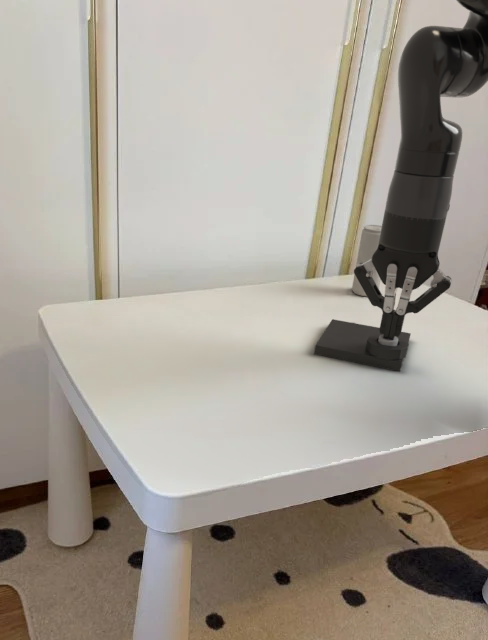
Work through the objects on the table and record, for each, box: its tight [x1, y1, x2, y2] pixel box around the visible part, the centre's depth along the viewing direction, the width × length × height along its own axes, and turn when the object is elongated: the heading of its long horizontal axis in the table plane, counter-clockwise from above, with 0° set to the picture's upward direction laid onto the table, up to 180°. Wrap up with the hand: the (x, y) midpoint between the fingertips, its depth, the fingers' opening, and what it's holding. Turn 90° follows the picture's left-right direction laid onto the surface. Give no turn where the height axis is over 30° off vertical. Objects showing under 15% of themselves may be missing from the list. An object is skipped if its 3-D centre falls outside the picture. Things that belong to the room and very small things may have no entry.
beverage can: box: [351, 224, 382, 297], centre depth 114 cm, size 5×5×12 cm
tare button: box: [378, 334, 398, 346], centre depth 88 cm, size 3×3×2 cm
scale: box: [313, 318, 411, 372], centre depth 93 cm, size 12×12×3 cm
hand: (389, 337), depth 88 cm, fingers closed
